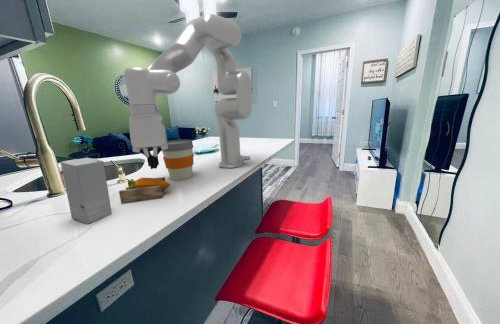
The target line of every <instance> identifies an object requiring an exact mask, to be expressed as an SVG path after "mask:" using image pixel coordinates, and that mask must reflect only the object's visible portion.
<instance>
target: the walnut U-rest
mask: <svg viewBox="0 0 500 324" xmlns="http://www.w3.org/2000/svg"><path fill="white" fill-rule="evenodd" d="M155 178H156V179H161V180H164V181H166V177H165V176H163V177H155ZM137 180H138V179H136V180H135V181H137ZM131 184H132V183H130V182H128V181H127V185H128V187H130V186H132V185H131ZM133 184H134V183H133ZM166 189H167V188H165V189H163V190H162V187H161V185H160V186H152V187H144V188H136V187H135V188H133V189H128V190H126V189H122V190H119V191H118V194H119V200H120V203H121V205H123V204H129V203H137V202H143V201H150V200H156V199H157V200H159V199H162V198H164V195H165V194H166V193H165V192H166Z"/></svg>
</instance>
